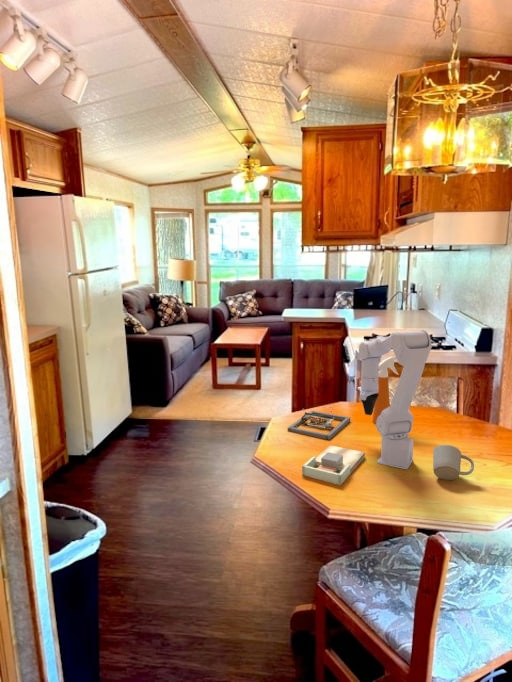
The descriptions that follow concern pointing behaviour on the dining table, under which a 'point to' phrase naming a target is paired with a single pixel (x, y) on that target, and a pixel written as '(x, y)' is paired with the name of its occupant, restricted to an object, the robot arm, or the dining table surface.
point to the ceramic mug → (449, 462)
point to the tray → (324, 472)
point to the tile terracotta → (327, 468)
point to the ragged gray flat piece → (323, 422)
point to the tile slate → (332, 460)
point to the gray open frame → (317, 434)
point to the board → (348, 457)
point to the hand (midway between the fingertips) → (368, 414)
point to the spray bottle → (383, 387)
